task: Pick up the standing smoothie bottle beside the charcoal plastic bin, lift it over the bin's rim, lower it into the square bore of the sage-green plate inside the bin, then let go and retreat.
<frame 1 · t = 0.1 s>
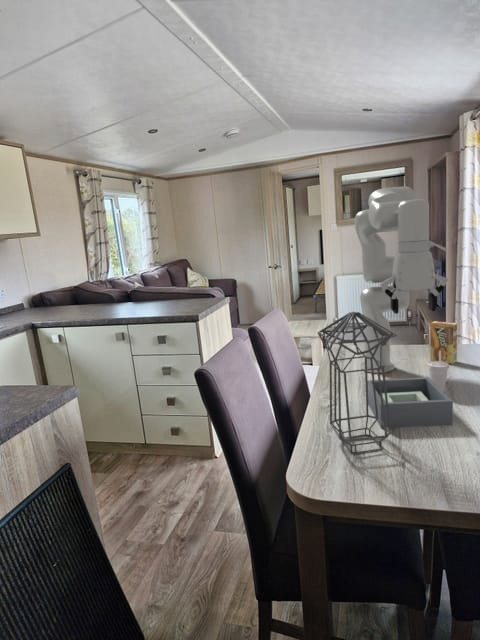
hand: (413, 311, 119), 31 cm above the table, tool pointing down, fingers open, 9 cm apart
bin: (406, 412, 129), on the table
smoothie: (437, 392, 141), on the table
candy box: (443, 361, 170), on the table
geometric lantern: (358, 443, 114), on the table
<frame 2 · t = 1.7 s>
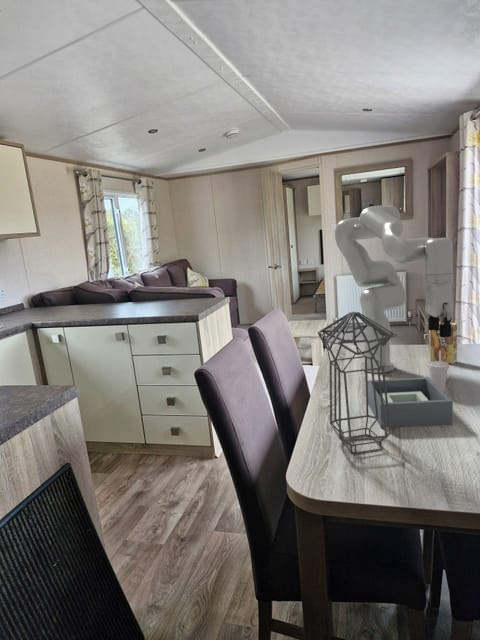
hand: (439, 333, 137), 20 cm above the table, tool pointing down, fingers open, 9 cm apart
nothing on the table moved.
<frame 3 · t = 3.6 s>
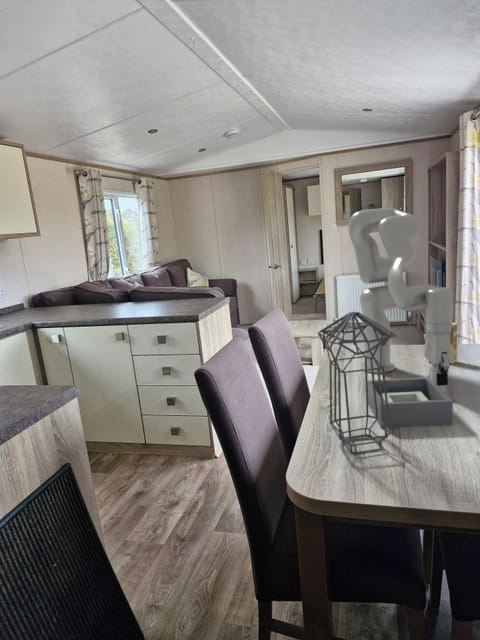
hand: (438, 380, 140), 4 cm above the table, tool pointing down, fingers closed on smoothie, 6 cm apart
smoothie: (437, 392, 141), on the table, touching gripper
everything else where it was.
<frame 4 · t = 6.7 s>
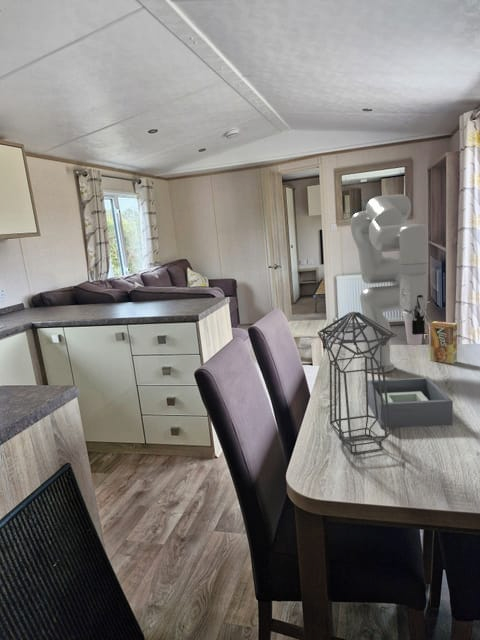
hand: (414, 330, 127), 24 cm above the table, tool pointing down, fingers closed on smoothie, 6 cm apart
smoothie: (414, 344, 128), point 20 cm above the table, touching gripper
everything else where it was.
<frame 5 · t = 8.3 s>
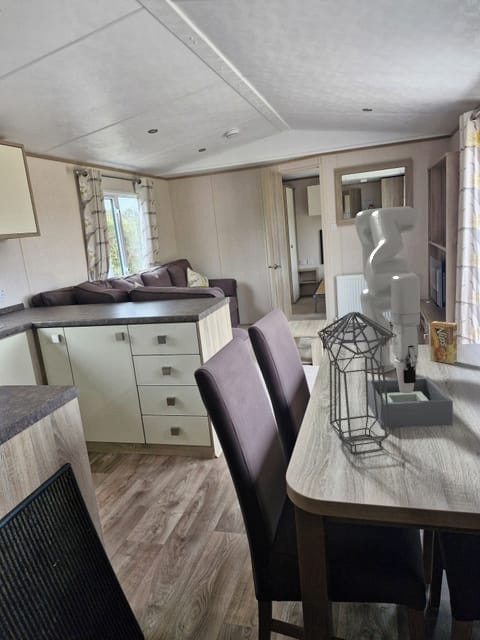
hand: (405, 378, 127), 11 cm above the table, tool pointing down, fingers closed on smoothie, 6 cm apart
smoothie: (406, 391, 128), point 7 cm above the table, touching gripper
everything else where it was.
when the fingers open (6 cm above the table, at t = 9.8 s): smoothie stays where it is, resting on bin.
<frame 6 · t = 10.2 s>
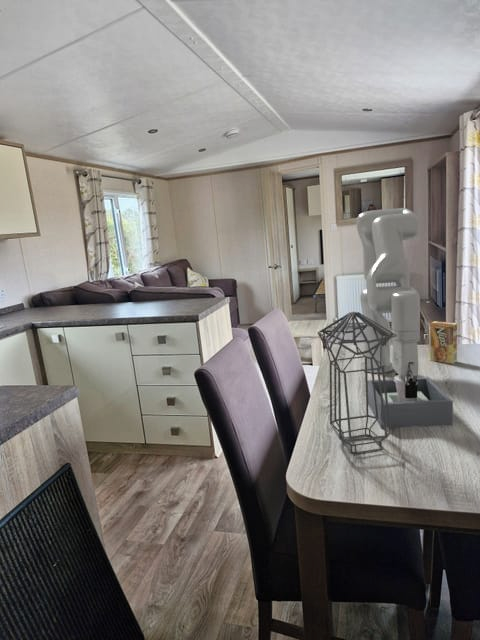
hand: (406, 391, 128), 7 cm above the table, tool pointing down, fingers open, 9 cm apart
smoothie: (406, 409, 129), point 1 cm above the table, touching bin
everything else where it was.
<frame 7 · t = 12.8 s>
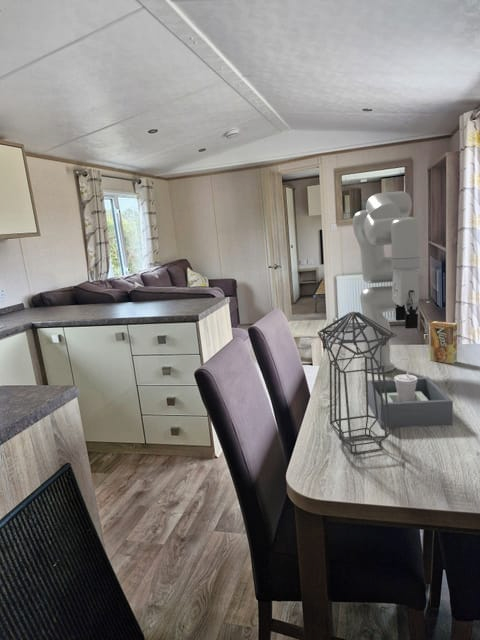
hand: (406, 323, 124), 27 cm above the table, tool pointing down, fingers open, 9 cm apart
nothing on the table moved.
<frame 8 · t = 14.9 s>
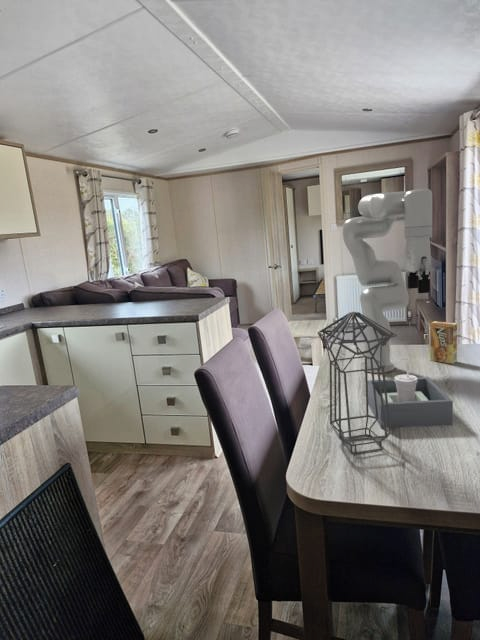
hand: (418, 290, 132), 34 cm above the table, tool pointing down, fingers open, 9 cm apart
nothing on the table moved.
at the end: smoothie 0.2 cm off-centre on the bin, point 0.8 cm above the bin's base; smoothie tilted 0°; the gripper is holding nothing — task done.
